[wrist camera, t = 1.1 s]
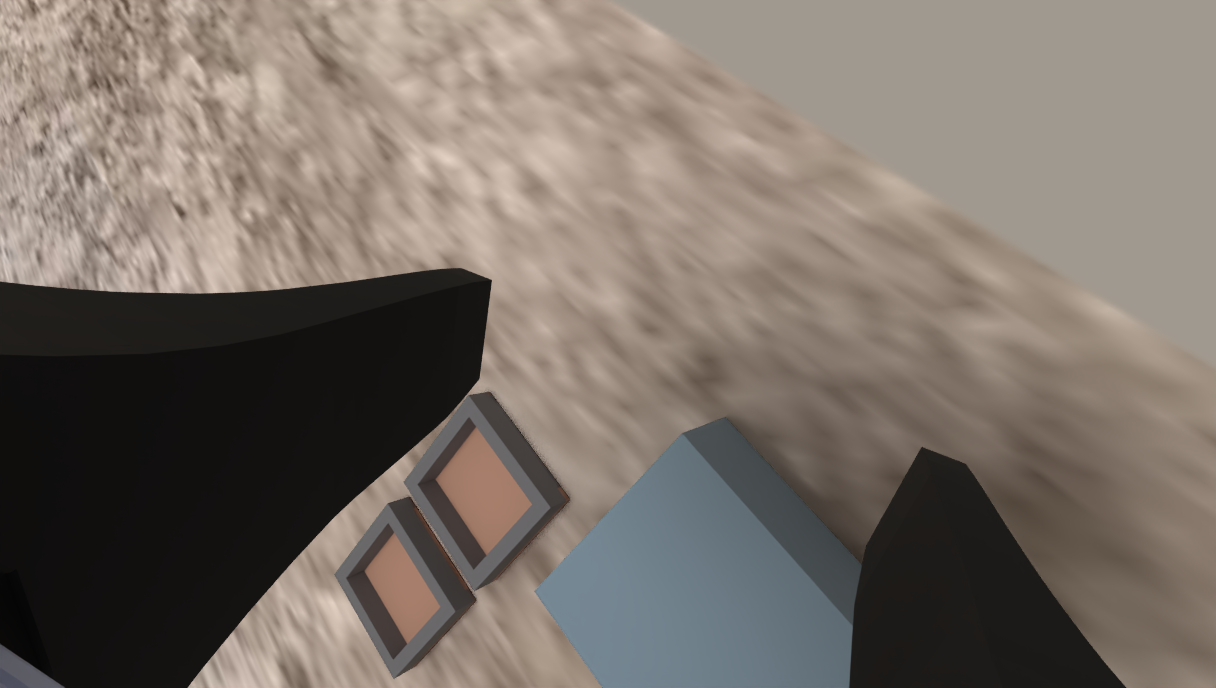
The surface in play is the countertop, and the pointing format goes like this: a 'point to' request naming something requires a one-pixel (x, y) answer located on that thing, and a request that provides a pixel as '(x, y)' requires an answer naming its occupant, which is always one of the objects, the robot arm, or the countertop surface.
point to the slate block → (709, 578)
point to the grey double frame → (448, 532)
